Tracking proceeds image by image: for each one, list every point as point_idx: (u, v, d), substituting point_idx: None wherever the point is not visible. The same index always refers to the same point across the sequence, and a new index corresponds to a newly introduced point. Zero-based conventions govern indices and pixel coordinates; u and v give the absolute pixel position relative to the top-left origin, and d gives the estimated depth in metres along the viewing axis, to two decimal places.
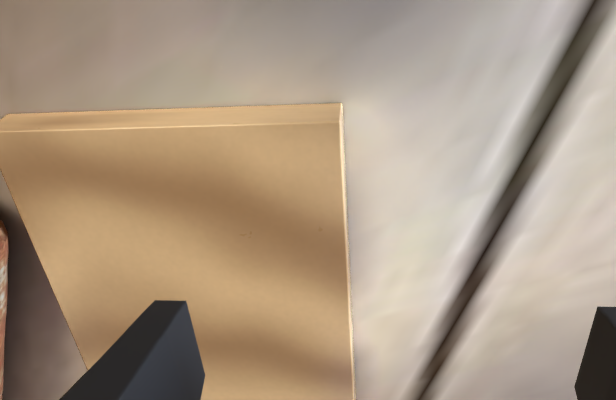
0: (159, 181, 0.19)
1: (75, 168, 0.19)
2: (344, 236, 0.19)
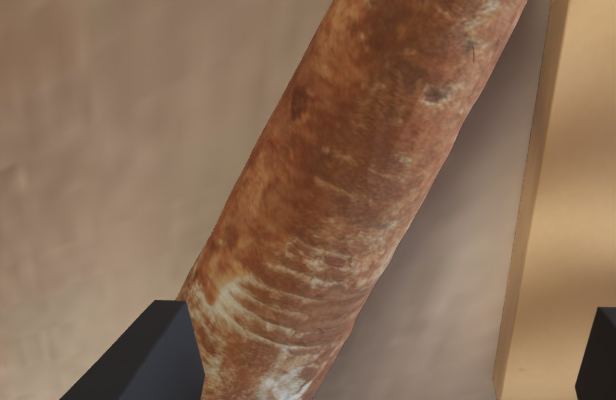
0: None
1: None
2: None
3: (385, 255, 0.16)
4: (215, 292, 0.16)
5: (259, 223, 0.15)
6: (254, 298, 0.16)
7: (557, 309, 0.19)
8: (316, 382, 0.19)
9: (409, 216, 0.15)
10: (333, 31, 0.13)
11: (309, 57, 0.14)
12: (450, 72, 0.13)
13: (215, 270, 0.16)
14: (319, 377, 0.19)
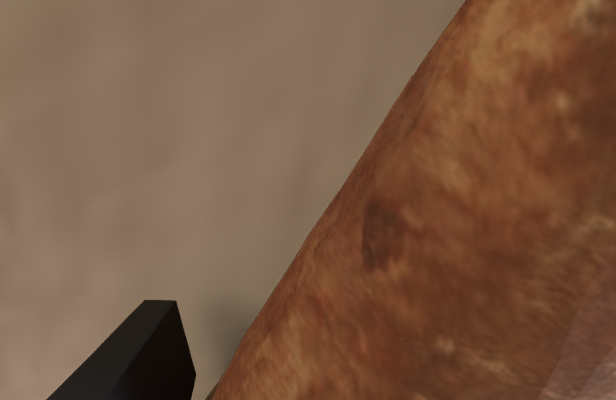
0: None
1: None
2: None
3: None
4: None
5: None
6: None
7: None
8: None
9: None
10: (476, 84, 0.06)
11: (408, 137, 0.06)
12: None
13: None
14: None
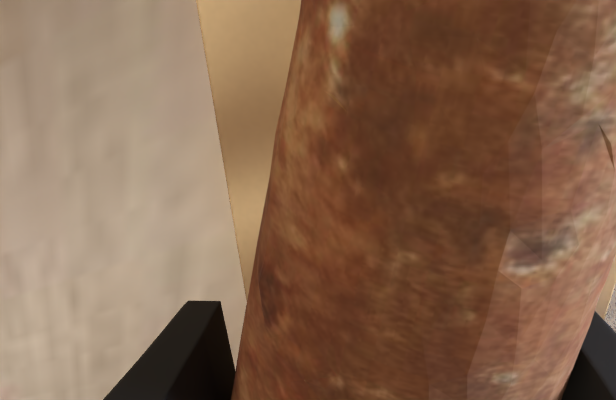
0: None
1: None
2: None
3: None
4: None
5: None
6: None
7: None
8: None
9: None
10: (290, 158, 0.07)
11: (267, 208, 0.07)
12: (559, 197, 0.05)
13: None
14: None
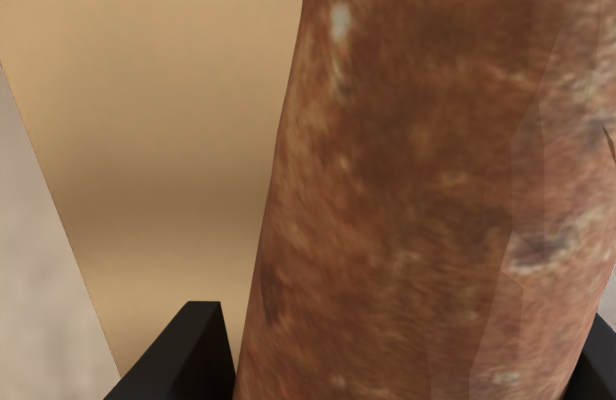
0: None
1: None
2: None
3: None
4: None
5: None
6: None
7: None
8: None
9: None
10: (291, 157, 0.07)
11: (268, 207, 0.07)
12: (560, 197, 0.05)
13: None
14: None
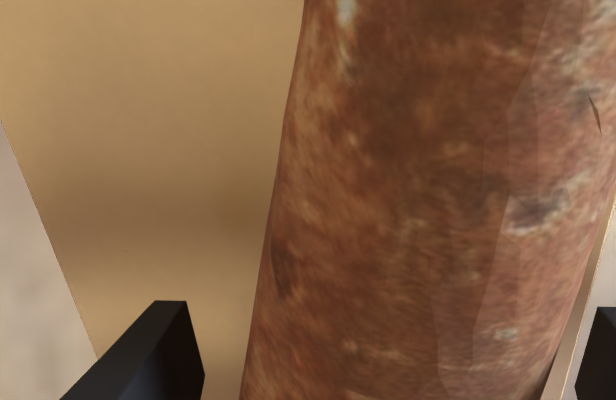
0: None
1: None
2: None
3: None
4: None
5: None
6: None
7: None
8: None
9: (538, 396, 0.08)
10: (300, 138, 0.07)
11: (278, 187, 0.08)
12: (552, 162, 0.06)
13: None
14: None
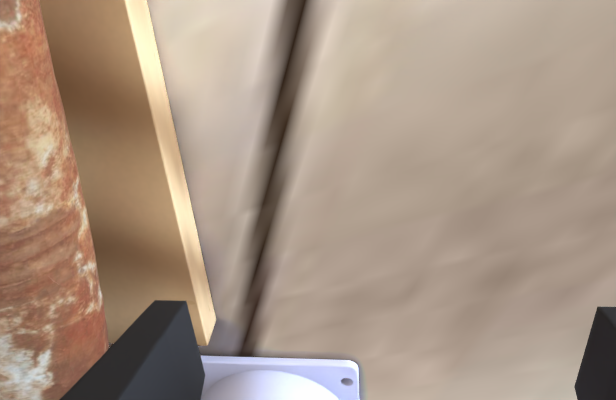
0: None
1: None
2: None
3: (13, 185, 0.14)
4: None
5: None
6: None
7: None
8: (62, 351, 0.17)
9: (7, 133, 0.13)
10: None
11: None
12: None
13: None
14: (62, 345, 0.17)
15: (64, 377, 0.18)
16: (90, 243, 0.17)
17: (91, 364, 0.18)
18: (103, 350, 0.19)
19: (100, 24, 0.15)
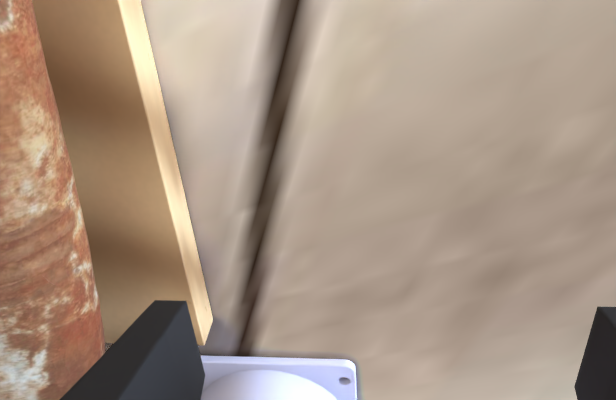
0: None
1: None
2: None
3: (6, 186, 0.14)
4: None
5: None
6: None
7: None
8: (58, 351, 0.17)
9: (0, 133, 0.13)
10: None
11: None
12: None
13: None
14: (58, 345, 0.17)
15: (59, 377, 0.18)
16: (85, 243, 0.17)
17: (87, 364, 0.18)
18: (99, 350, 0.19)
19: (94, 24, 0.15)
